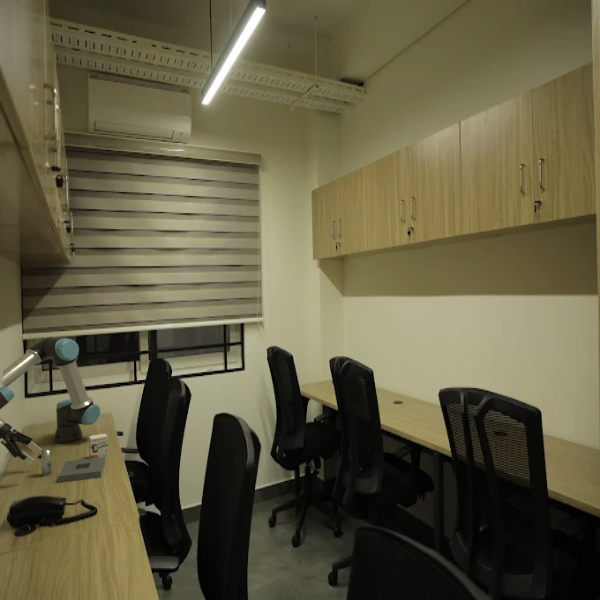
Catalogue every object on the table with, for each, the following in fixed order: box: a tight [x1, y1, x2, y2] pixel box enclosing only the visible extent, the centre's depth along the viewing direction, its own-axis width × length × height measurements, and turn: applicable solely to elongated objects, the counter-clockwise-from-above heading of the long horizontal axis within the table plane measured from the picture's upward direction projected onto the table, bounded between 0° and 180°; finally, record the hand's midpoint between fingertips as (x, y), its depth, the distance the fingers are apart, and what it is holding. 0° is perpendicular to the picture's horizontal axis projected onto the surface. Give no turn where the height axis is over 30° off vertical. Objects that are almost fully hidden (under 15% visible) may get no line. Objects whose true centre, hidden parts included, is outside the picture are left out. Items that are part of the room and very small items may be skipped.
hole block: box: [57, 457, 106, 483], centre depth 213 cm, size 18×18×3 cm
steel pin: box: [41, 448, 53, 477], centre depth 210 cm, size 4×4×12 cm
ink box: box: [88, 433, 109, 459], centre depth 231 cm, size 8×5×12 cm, turn 123°
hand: (36, 457), depth 208 cm, fingers open, 13 cm apart
